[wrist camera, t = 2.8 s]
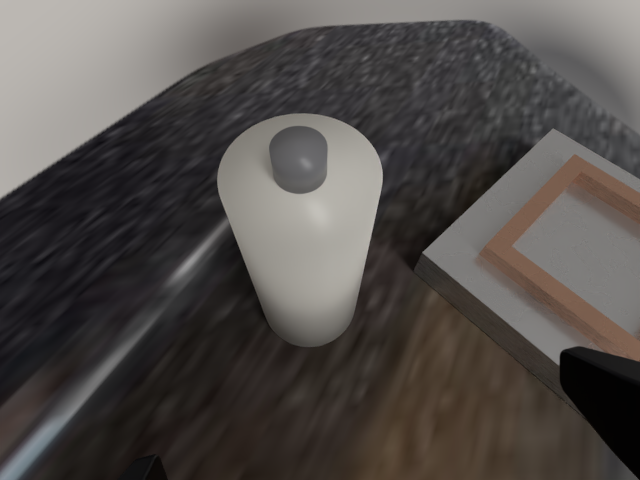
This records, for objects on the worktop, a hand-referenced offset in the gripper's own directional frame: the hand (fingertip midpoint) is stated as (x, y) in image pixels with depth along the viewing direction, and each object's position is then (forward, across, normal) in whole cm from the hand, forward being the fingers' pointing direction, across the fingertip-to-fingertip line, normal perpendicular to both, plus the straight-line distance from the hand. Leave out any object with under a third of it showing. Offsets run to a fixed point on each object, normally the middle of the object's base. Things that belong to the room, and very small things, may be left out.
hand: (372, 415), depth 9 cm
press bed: (+13, -16, +5) cm, 22 cm away
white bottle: (+15, 0, +4) cm, 15 cm away
